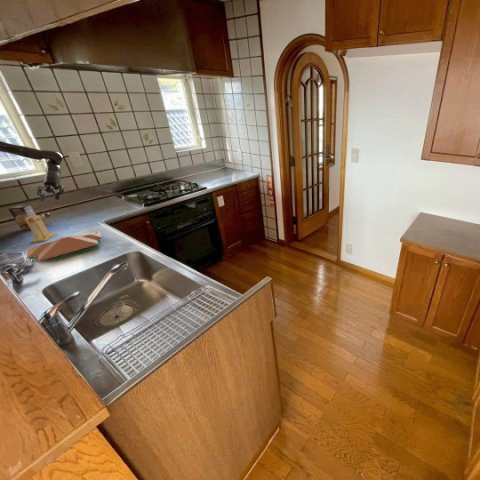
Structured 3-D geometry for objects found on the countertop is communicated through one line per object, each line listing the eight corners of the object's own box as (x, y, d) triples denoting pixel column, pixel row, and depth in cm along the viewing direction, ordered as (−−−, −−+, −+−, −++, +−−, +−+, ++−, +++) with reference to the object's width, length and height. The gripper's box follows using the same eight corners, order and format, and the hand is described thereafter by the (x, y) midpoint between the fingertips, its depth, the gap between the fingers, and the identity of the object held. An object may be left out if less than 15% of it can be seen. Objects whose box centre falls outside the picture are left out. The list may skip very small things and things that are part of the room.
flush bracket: (42, 235, 171) (30, 214, 164) (56, 234, 173) (44, 213, 166) (31, 242, 163) (17, 221, 156) (46, 241, 164) (33, 219, 157)
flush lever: (46, 217, 174) (44, 212, 173) (52, 217, 174) (50, 211, 173) (29, 223, 161) (26, 217, 159) (36, 222, 161) (33, 217, 160)
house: (106, 247, 155) (100, 234, 151) (29, 269, 135) (20, 256, 131) (101, 235, 170) (95, 223, 166) (30, 253, 150) (22, 241, 146)
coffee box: (20, 230, 180) (6, 208, 172) (28, 226, 186) (15, 205, 178) (35, 229, 181) (22, 207, 174) (42, 225, 187) (30, 204, 179)
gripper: (35, 176, 176) (32, 198, 171) (59, 175, 178) (57, 196, 174) (44, 182, 183) (42, 203, 178) (68, 180, 185) (66, 201, 181)
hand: (49, 200), depth 176 cm, fingers open, 8 cm apart
